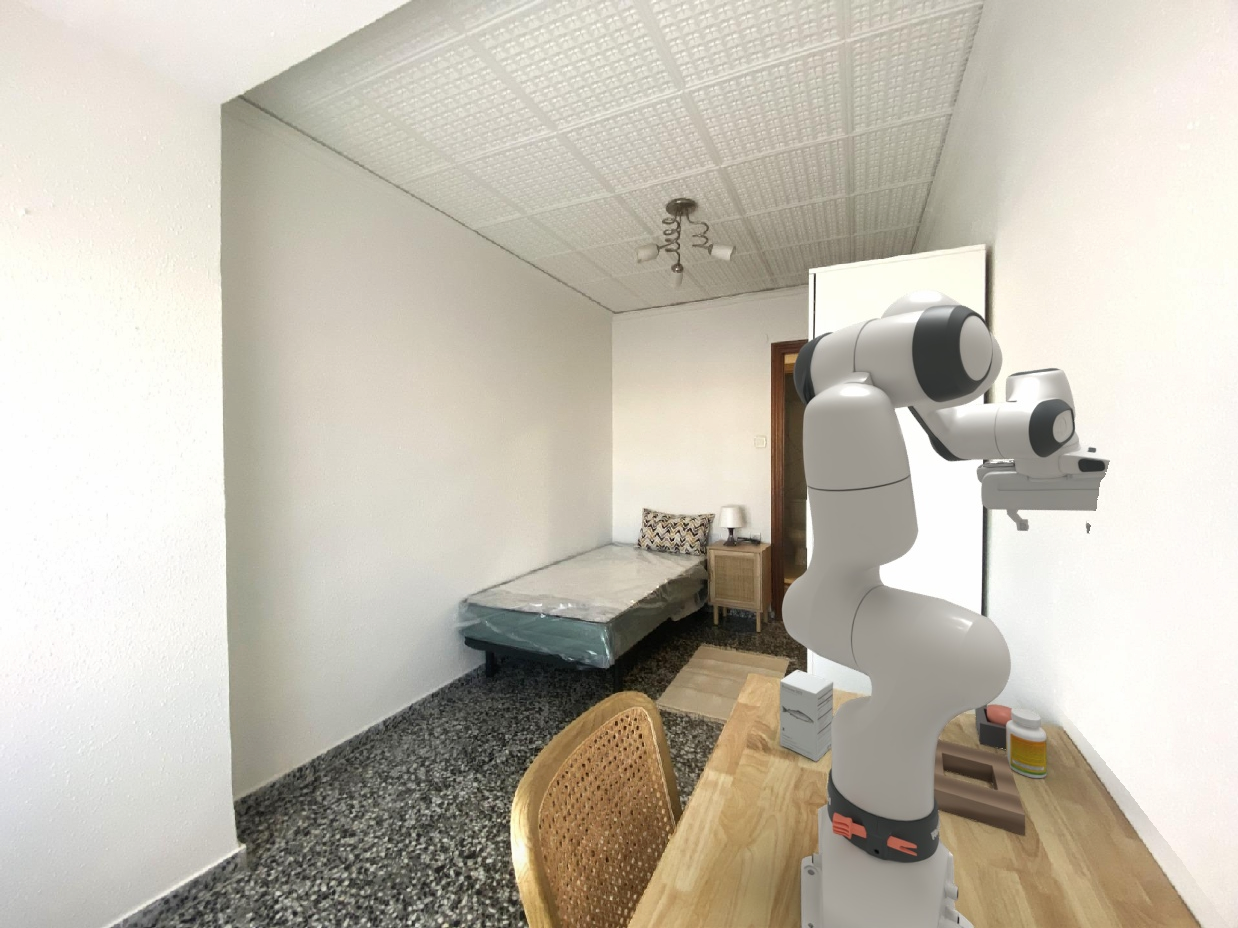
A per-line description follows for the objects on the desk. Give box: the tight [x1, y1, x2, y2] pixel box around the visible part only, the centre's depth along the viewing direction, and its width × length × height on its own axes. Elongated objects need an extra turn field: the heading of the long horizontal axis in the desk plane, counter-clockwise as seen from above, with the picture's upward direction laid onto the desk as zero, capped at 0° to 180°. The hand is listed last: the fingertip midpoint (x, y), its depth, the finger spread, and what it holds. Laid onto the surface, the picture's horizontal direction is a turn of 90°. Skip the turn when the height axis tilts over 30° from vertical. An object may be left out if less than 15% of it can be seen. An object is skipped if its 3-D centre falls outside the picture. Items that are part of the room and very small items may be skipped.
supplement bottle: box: [1005, 707, 1048, 779], centre depth 84 cm, size 5×5×10 cm
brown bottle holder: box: [934, 738, 1026, 837], centre depth 79 cm, size 16×12×3 cm
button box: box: [974, 705, 1006, 750], centre depth 92 cm, size 8×8×4 cm
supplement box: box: [779, 669, 834, 762], centre depth 91 cm, size 7×7×13 cm
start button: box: [986, 703, 1013, 726], centre depth 92 cm, size 5×5×3 cm
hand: (1056, 531), depth 87 cm, fingers open, 8 cm apart
